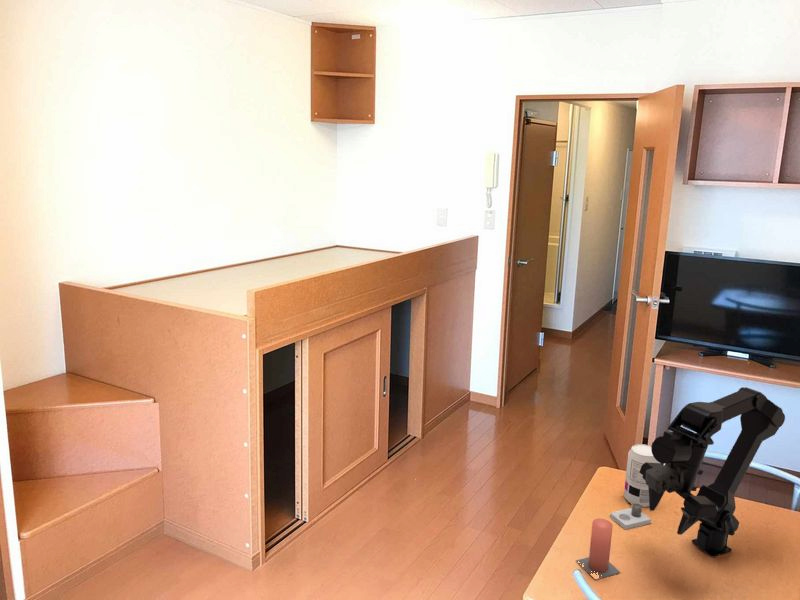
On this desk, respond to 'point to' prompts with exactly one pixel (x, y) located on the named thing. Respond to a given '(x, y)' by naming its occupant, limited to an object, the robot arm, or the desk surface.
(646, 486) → the supplement can
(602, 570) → the red plug
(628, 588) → the desk surface
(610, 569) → the pad
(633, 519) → the plug tray
